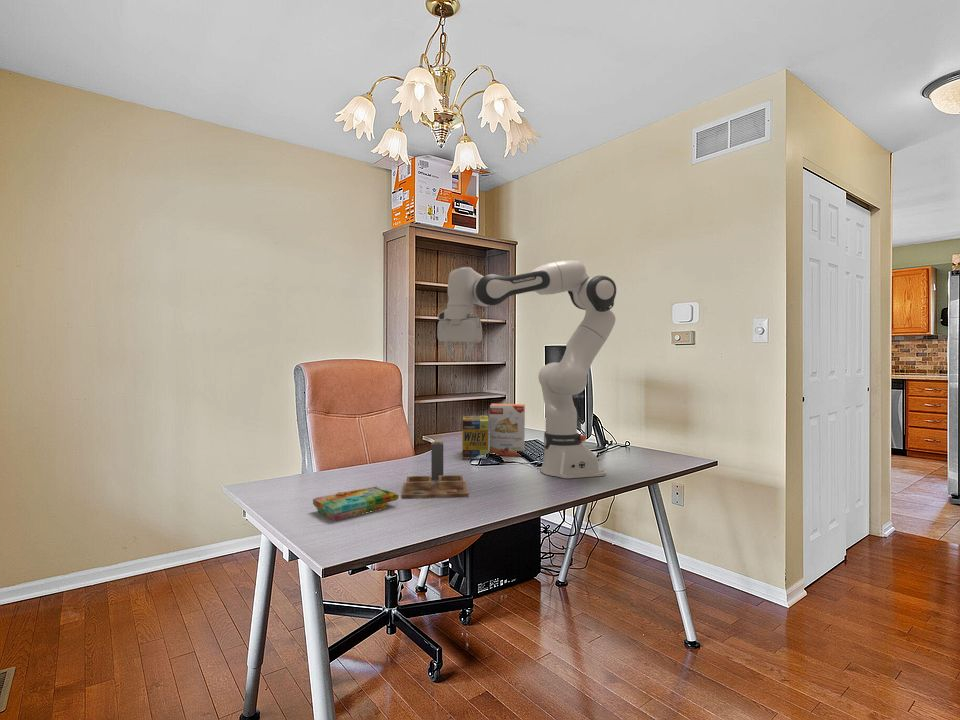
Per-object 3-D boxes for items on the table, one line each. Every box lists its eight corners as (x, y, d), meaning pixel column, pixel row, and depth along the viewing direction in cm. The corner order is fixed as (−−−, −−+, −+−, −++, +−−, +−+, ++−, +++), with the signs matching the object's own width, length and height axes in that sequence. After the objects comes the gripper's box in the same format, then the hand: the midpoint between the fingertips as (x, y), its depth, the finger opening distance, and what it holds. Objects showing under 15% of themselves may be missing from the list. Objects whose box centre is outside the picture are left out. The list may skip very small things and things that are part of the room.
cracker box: (489, 455, 218) (489, 404, 217) (491, 452, 224) (491, 402, 223) (523, 457, 216) (523, 405, 215) (524, 454, 222) (525, 403, 221)
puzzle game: (312, 496, 147) (376, 483, 160) (313, 513, 147) (376, 498, 160) (332, 505, 138) (398, 491, 151) (333, 523, 138) (398, 507, 152)
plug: (443, 476, 185) (443, 439, 185) (443, 479, 182) (443, 441, 181) (431, 476, 185) (431, 439, 185) (431, 479, 181) (431, 441, 181)
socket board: (465, 484, 175) (465, 473, 175) (468, 496, 161) (468, 485, 161) (403, 485, 173) (403, 474, 173) (401, 498, 159) (401, 486, 159)
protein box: (462, 459, 211) (462, 420, 210) (463, 451, 226) (463, 415, 226) (488, 459, 211) (488, 420, 210) (487, 451, 226) (487, 415, 226)
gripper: (487, 314, 177) (486, 356, 177) (448, 315, 192) (447, 354, 193) (473, 313, 173) (471, 356, 173) (434, 314, 188) (433, 354, 188)
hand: (458, 355), depth 183 cm, fingers open, 8 cm apart
